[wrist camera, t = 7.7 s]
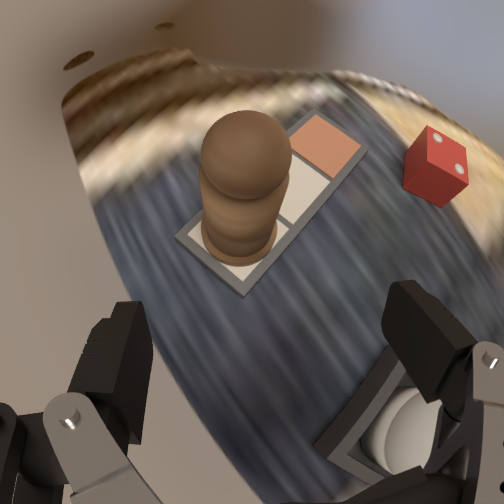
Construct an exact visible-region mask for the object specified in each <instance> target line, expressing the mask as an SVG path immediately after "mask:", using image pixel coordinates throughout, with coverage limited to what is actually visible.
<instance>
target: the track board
mask: <svg viewBox="0 0 504 504" xmlns="http://www.w3.org/2000/svg"><path fill="white" fill-rule="evenodd" d="M314 115H318V116H319V117H321V118H322V119H324V120H325V121H327V122H328V123H330V124H331V125H333V126H334V127H336V128H337V129H339V130H340V131H341V132H343V133H344V134H346V135H347V136H348V137H350V138H351V139H353V140H354V141H355V142H357V143H358V144H360V145H361V147H360V148H359V149H358V151H357V152H356V153H355V154H354V155H353V156H352V158H351V159H350V160H349V161H348V162H347V163H346V165H345V166H344V167H343V168H342V169H341V170H340V171H339V173H338V174H337V175H336V176H335V177H334V178H333V180H332V179H331V178H330V177H328V176H327V175H326V174H324V173H323V172H322V171H320V170H319V169H318V168H316V167H315V166H313V165H312V164H311V163H309V162H308V161H307V160H305V159H304V158H302V157H301V156H300V155H298V154H297V153H295V152H294V151H292V162H291V166H290V169H289V175H290V178H289V185H288V188H287V191H286V194H285V197H284V200H283V203H282V206H281V208H280V211H279V214H278V217H277V236H276V239H275V242H274V244H273V247H272V249H271V250H270V252H269V253H268V254H267V255H266V256H265V257H264V258H263V259H262V260H261V261H259V262H257V263H255V264H253V265H249V266H244V267H234V266H229V265H226V264H223V263H221V262H219V261H218V260H216V259H215V258H214V257H213V256H212V255H210V253H209V252H208V251H207V249H206V247H205V245H204V243H203V239H202V234H201V221H202V217H203V214H204V210H203V208H202V209H201V210H200V211H199V212H198V213H197V214H196V215H195V216H194V217H193V218H192V219H191V220H190V221H189V222H188V223H187V224H186V225H185V226H184V227H183V228H182V229H181V230H180V231H179V232H178V233H177V234H176V235H175V236H174V237H175V239H176V241H177V242H178V243H179V244H180V245H181V246H183V247H184V248H185V249H186V250H187V251H188V252H189V253H190V254H192V255H193V256H194V257H195V258H196V259H197V260H198V261H200V262H201V263H202V264H203V265H204V266H205V267H206V268H208V269H209V270H210V271H211V272H212V273H213V274H214V275H216V276H217V277H218V278H219V279H220V280H221V281H223V282H224V283H225V284H226V285H227V286H228V287H230V288H231V289H232V290H233V291H234V292H235V293H237V294H238V295H239V296H240V297H241V298H244V297H245V296H246V295H247V294H248V293H249V292H250V290H251V289H252V288H253V287H254V286H255V285H256V284H257V282H258V281H259V280H260V279H261V278H262V277H263V276H264V274H265V273H266V272H267V271H268V270H269V269H270V267H271V266H272V265H273V264H274V263H275V262H276V260H277V259H278V258H279V257H280V256H281V255H282V254H283V252H284V251H285V250H286V249H287V248H288V247H289V245H290V244H291V243H292V242H293V241H294V239H295V238H296V237H297V236H298V235H299V234H300V232H301V231H302V230H303V229H304V228H305V227H306V225H307V224H308V223H309V222H310V221H311V219H312V218H313V217H314V216H315V215H316V214H317V212H318V211H319V210H320V209H321V208H322V206H323V205H324V204H325V203H326V202H327V200H328V199H329V198H330V197H331V196H332V194H333V193H334V192H335V191H336V190H337V188H338V187H339V186H340V185H341V184H342V182H343V181H344V180H345V179H346V178H347V176H348V175H349V174H350V173H351V172H352V170H353V169H354V168H355V167H356V165H357V164H358V163H359V162H360V161H361V159H362V158H363V157H364V156H365V154H366V153H367V152H368V150H369V148H370V147H368V146H367V145H366V144H364V143H363V142H362V141H360V140H359V139H357V138H356V137H355V136H353V135H352V134H351V133H349V132H348V131H346V130H345V129H343V128H342V127H341V126H339V125H338V124H336V123H335V122H333V121H332V120H330V119H329V118H327V117H326V116H324V115H323V114H321V113H320V112H318V111H317V110H315V109H312V110H311V111H310V112H308V113H307V114H306V115H305V116H304V117H302V118H301V119H300V120H299V121H298V122H297V123H295V124H294V125H293V126H292V127H291V128H290V129H288V130H287V131H286V133H287V135H288V138H289V137H290V136H292V135H293V134H294V133H295V132H296V131H297V130H298V129H300V128H301V127H302V126H303V125H304V124H305V123H306V122H308V121H309V120H310V119H311V118H312V117H313V116H314Z"/></svg>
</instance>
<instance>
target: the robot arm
mask: <svg viewBox="0 0 504 504" xmlns="http://www.w3.org/2000/svg"><path fill="white" fill-rule="evenodd" d="M381 327H382V332H383V335H384V337H385V338H386V340H387V341H388V343H389V344H390V346H391V347H392V349H393V350H394V352H395V354H396V355H397V357H398V358H399V360H400V361H401V363H402V364H403V366H404V368H405V369H406V371H407V372H408V374H409V376H410V377H411V379H412V380H413V382H414V384H415V385H416V387H417V389H418V390H419V392H420V394H421V395H422V397H423V398H424V400H425V402H426V403H427V404H429V403H431V402H434V401H437V400H439V399H440V400H441V402H442V404H441V406H440V407H439V410H438V416H437V422H436V428H435V434H434V439H433V444H432V449H431V453H430V456H429V459H428V461H427V463H426V465H425V466H424V468H423V469H422V467H421V465H418V466H416V467H414V468H411V469H409V470H406V471H403V472H401V473H398V474H395V475H393V476H390V477H387V478H384V479H382V480H381V481H379V482H377V483H376V484H374V485H372V486H371V487H369V488H367V489H366V490H364V491H362V492H360V493H359V494H357V495H355V496H353V497H351V498H350V499H348V500H346V501H343V502H338V503H299V502H288V503H282V504H504V349H502V348H501V347H500V346H498V345H497V344H494V343H492V342H486V341H484V342H479V343H478V342H477V341H476V339H475V338H474V337H473V336H472V335H471V334H470V333H469V332H468V330H467V329H466V328H465V327H464V326H463V325H462V324H461V323H460V322H459V321H458V319H457V318H456V317H455V318H454V315H453V314H452V313H451V312H450V311H449V310H447V308H446V307H445V306H444V305H443V303H442V302H441V301H440V300H439V299H437V298H436V297H434V296H432V295H431V294H429V293H427V292H426V291H425V290H424V289H423V288H422V287H421V286H420V285H419V284H418V283H417V282H416V281H415V280H405V281H397V282H393V283H392V284H391V286H390V289H389V293H388V297H387V301H386V305H385V309H384V313H383V316H382V321H381ZM152 361H153V344H152V338H151V335H150V331H149V327H148V323H147V319H146V315H145V311H144V307H143V304H142V302H141V301H128V302H117V303H116V305H115V307H114V309H113V312H112V315H111V317H110V318H102V319H101V320H100V321H99V322H98V323H97V324H96V325H95V326H94V327H93V328H92V330H91V333H90V335H89V337H88V339H87V344H85V347H84V349H83V354H81V357H80V359H79V362H78V364H77V367H76V370H75V372H74V375H73V377H72V380H71V383H70V386H69V388H68V391H67V393H64V394H61V395H59V396H57V397H55V398H54V399H52V400H51V401H50V402H49V403H48V405H47V406H46V408H45V410H44V412H41V413H34V414H27V415H19V416H18V415H17V414H16V413H15V412H14V410H13V409H12V408H11V407H10V406H9V405H7V404H5V403H0V504H62V497H63V489H64V484H70V485H71V487H72V490H73V494H71V496H70V498H71V502H72V504H163V503H162V502H161V500H160V499H159V498H158V497H157V495H156V494H155V493H154V492H153V490H152V489H151V488H150V487H149V485H148V484H147V483H146V482H145V480H144V479H143V478H142V476H141V475H140V474H139V472H138V471H137V470H136V468H135V467H134V466H133V464H132V463H131V461H130V460H129V458H128V457H127V452H128V444H138V445H141V439H142V430H143V421H144V414H145V407H146V399H147V393H148V386H149V379H150V373H151V366H152ZM17 474H18V476H17ZM16 476H17V481H16ZM15 482H16V486H15ZM14 487H15V491H14ZM13 493H14V497H13ZM12 498H13V503H12Z"/></svg>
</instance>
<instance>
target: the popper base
mask: <svg viewBox="0 0 504 504" xmlns="http://www.w3.org/2000/svg"><path fill="white" fill-rule="evenodd" d="M401 386H411V387H416V385H415V384H414V382H413V380H412V379H411V377H410V376H409V374H408V372H407V371H406V369H405V368H404V366H403V364H402V363H401V361H400V360H399V358H398V357H397V355H396V354H395V352H394V350H393V349H392V347H391V346H390V345H387V347H386V349H385V350H384V352H383V353H382V355H381V356H380V358H379V359H378V361H377V362H376V364H375V365H374V367H373V368H372V370H371V371H370V373H369V374H368V376H367V377H366V378H365V380H364V381H363V383H362V384H361V386H360V387H359V388H358V390H357V391H356V392H355V394H354V395H353V397H352V398H351V399H350V401H349V402H348V403H347V405H346V406H345V407H344V408H343V410H342V411H341V412H340V414H339V415H338V416H337V417H336V419H335V420H334V421H333V422H332V424H331V425H330V426H329V427H328V429H327V430H326V431H325V432H324V433H323V435H322V436H321V437H320V438H319V439H318V440H317V442H316V443H315V444H314V445H313V446H314V447H315V448H316V449H317V450H318V451H319V452H320V453H321V454H322V455H323V456H324V457H325V458H326V459H328V460H329V461H331V462H333V463H334V464H336V465H337V466H339V467H341V468H342V469H344V470H346V471H347V472H349V473H351V474H352V475H354V476H356V477H357V478H359V479H361V480H363V481H364V482H366V483H368V484H370V485H374V484H376V483H377V482H379V481H381V480H382V479H384V478H387V477H390V476H393V474H392V473H390V472H388V471H387V470H385V469H383V468H382V467H380V466H378V465H377V464H375V463H373V462H372V461H371V460H369V459H368V458H367V456H366V455H365V453H364V451H363V449H362V445H361V436H362V434H363V433H364V432H365V430H366V429H367V428H368V426H369V425H370V424H371V422H372V421H373V420H374V418H375V417H376V416H377V414H378V413H379V411H380V410H381V408H382V407H383V406H384V404H385V403H386V401H387V400H388V398H389V397H390V395H391V394H392V392H393V391H394V389H395V388H397V387H401Z"/></svg>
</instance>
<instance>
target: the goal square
mask: <svg viewBox="0 0 504 504" xmlns="http://www.w3.org/2000/svg"><path fill="white" fill-rule="evenodd" d="M289 140H290V143H291V147H292V151H294V152H295V153H297V154H298V155H300V156H301V157H302V158H304V159H305V160H307V161H308V162H309V163H311V164H312V165H313V166H315V167H316V168H318V169H319V170H320V171H322V172H323V173H324V174H326V175H327V176H328V177H330V178H331V179H332V180H333V178H334V177H335V176H336V175H337V174H338V173H339V171H340V170H341V169H342V168H343V167H344V166H345V165H346V163H347V162H348V161H349V160H350V159H351V158H352V156H353V155H354V154H355V153H356V152H357V151H358V149H359V148H360V147H361V145H360V144H358V143H357V142H355V141H354V140H353V139H351V138H350V137H348V136H347V135H346V134H344V133H343V132H341V131H340V130H339V129H337V128H336V127H334V126H333V125H331V124H330V123H328V122H327V121H325V120H324V119H322V118H321V117H319V116H318V115H314V116H313V117H312V118H311V119H310V120H309V121H308V122H306V123H305V124H304V125H303V126H302V127H301V128H300V129H298V130H297V131H296V132H295V133H294V134H293V135H292V136H290V137H289Z"/></svg>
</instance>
